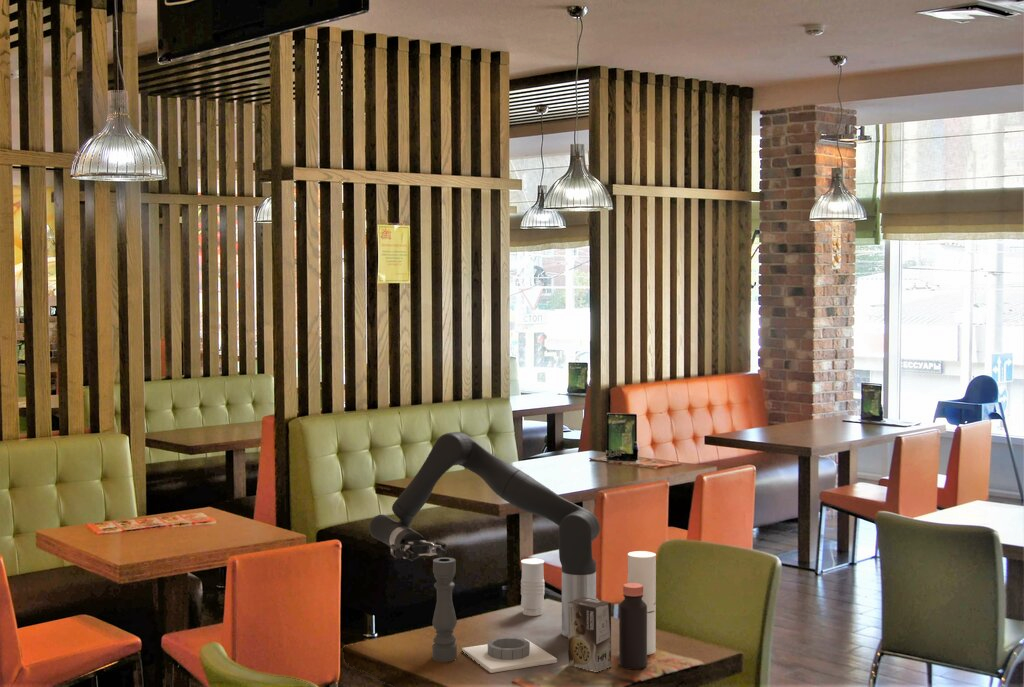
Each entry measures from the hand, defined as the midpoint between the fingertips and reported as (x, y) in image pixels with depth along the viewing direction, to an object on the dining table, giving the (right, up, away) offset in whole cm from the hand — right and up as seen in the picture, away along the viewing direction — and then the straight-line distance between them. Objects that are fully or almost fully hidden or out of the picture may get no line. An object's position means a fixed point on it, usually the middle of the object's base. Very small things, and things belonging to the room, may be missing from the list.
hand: (428, 555), depth 294 cm
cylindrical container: (+55, -24, -3) cm, 60 cm away
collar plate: (+21, -24, -8) cm, 33 cm away
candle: (+28, -23, +32) cm, 48 cm away
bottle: (+52, -25, -15) cm, 59 cm away
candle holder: (+5, -25, -9) cm, 26 cm away
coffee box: (+41, -25, -15) cm, 50 cm away
